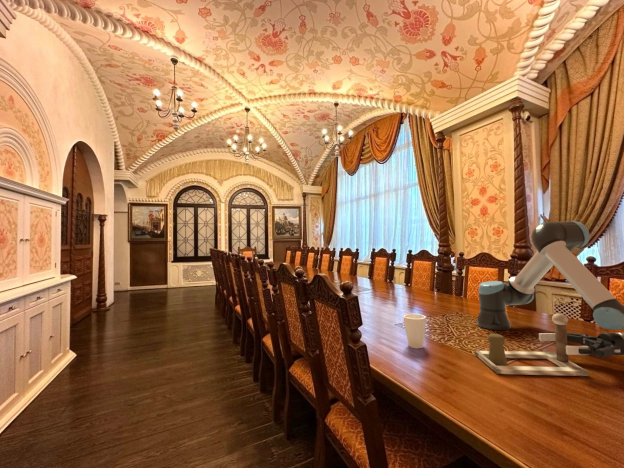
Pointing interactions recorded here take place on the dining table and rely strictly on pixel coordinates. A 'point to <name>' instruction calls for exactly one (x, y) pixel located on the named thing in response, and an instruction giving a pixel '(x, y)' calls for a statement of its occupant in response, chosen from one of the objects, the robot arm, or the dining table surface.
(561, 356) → the joystick on frame
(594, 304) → the robot arm
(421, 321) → the foam cup
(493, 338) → the cork
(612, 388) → the dining table surface
